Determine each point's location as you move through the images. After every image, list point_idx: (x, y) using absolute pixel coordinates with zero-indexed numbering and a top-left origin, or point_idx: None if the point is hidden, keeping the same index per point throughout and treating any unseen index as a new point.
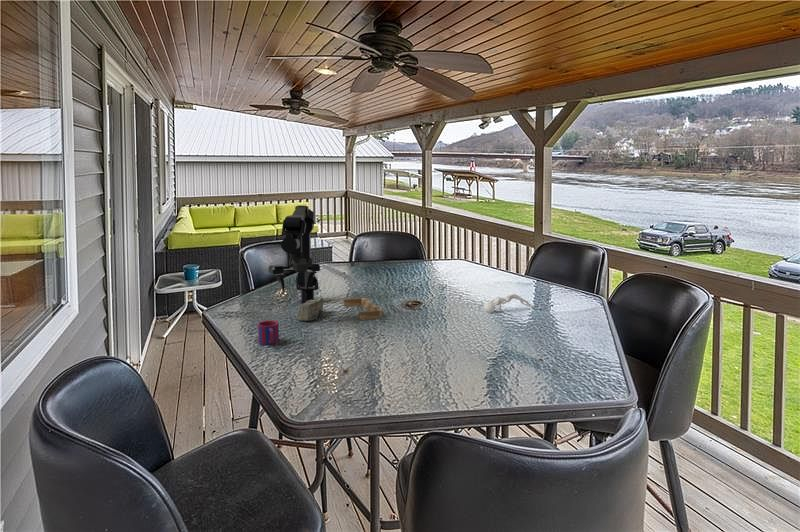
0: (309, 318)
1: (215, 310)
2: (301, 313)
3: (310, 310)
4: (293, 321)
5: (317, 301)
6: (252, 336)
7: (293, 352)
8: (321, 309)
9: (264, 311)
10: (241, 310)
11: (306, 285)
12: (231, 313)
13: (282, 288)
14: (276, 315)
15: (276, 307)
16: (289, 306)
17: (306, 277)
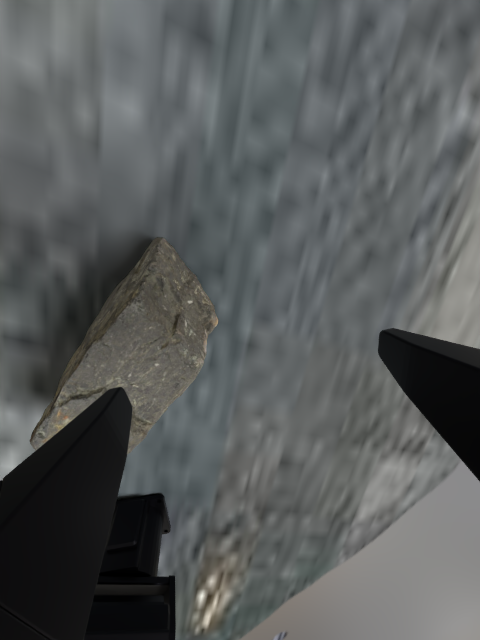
0: (153, 240)
1: (436, 472)
2: (191, 309)
3: (135, 281)
4: (233, 291)
5: (71, 394)
6: (476, 93)
7: None
8: (69, 361)
9: (310, 444)
10: (373, 463)
11: (102, 422)
12: (410, 440)
13: (432, 340)
14: (282, 392)
15: (259, 479)
16: (212, 485)
17: (42, 591)
